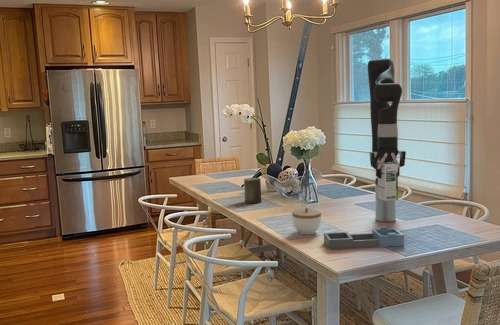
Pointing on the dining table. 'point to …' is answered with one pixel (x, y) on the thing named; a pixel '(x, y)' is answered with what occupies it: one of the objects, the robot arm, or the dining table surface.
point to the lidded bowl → (306, 220)
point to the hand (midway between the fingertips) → (387, 177)
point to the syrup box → (388, 182)
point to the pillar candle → (252, 190)
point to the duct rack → (364, 239)
